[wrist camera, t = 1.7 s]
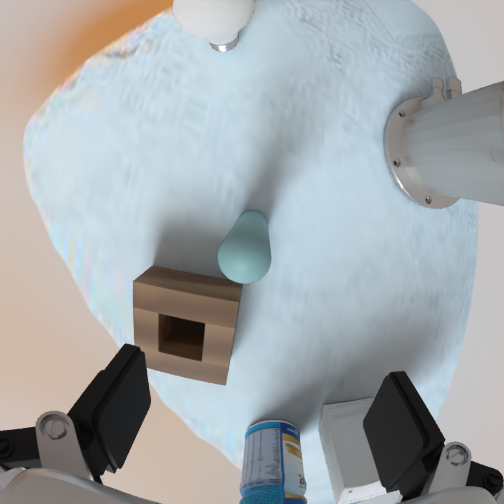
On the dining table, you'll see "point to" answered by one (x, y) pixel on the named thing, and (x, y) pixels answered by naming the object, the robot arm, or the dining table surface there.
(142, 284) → the socket block
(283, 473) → the beverage bottle
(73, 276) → the dining table surface
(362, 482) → the skincare box
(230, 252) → the peg
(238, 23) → the light bulb
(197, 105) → the dining table surface
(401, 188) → the robot arm
